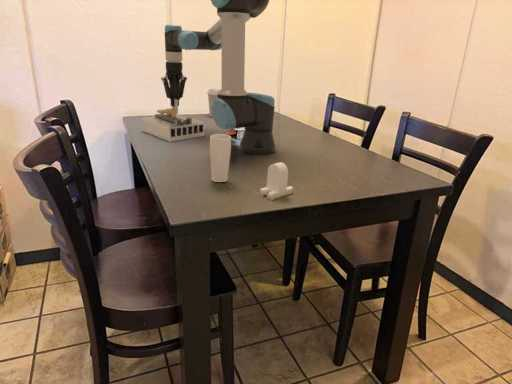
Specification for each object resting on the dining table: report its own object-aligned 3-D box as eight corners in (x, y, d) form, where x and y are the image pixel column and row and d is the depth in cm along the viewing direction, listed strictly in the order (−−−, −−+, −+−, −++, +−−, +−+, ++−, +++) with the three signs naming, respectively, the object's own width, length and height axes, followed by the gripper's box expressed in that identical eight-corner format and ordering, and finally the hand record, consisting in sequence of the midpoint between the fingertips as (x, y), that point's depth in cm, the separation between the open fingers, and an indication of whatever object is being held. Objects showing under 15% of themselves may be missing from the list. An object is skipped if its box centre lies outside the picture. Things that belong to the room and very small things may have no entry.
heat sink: (204, 136, 179) (204, 116, 176) (169, 141, 167) (168, 121, 163) (177, 126, 193) (176, 108, 190) (143, 131, 181) (142, 112, 177)
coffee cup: (209, 114, 227) (209, 88, 221) (225, 115, 226) (225, 89, 220) (205, 117, 218) (205, 90, 212) (221, 118, 217) (222, 91, 211)
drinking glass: (231, 184, 125) (233, 139, 119) (211, 185, 123) (211, 139, 117) (227, 176, 131) (228, 133, 125) (207, 177, 129) (208, 133, 123)
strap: (188, 124, 171) (188, 120, 170) (180, 125, 168) (180, 121, 167) (162, 116, 184) (162, 112, 184) (154, 117, 182) (154, 113, 181)
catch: (176, 116, 184) (176, 109, 183) (161, 118, 179) (161, 111, 177) (171, 115, 187) (171, 108, 185) (157, 116, 181) (156, 109, 180)
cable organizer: (259, 194, 118) (261, 163, 114) (281, 188, 124) (283, 158, 120) (271, 200, 114) (273, 168, 110) (293, 193, 121) (296, 162, 117)
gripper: (181, 60, 183) (181, 110, 192) (157, 60, 174) (159, 112, 183) (190, 62, 178) (190, 113, 187) (166, 62, 170) (167, 115, 179)
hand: (175, 113), depth 185 cm, fingers closed
